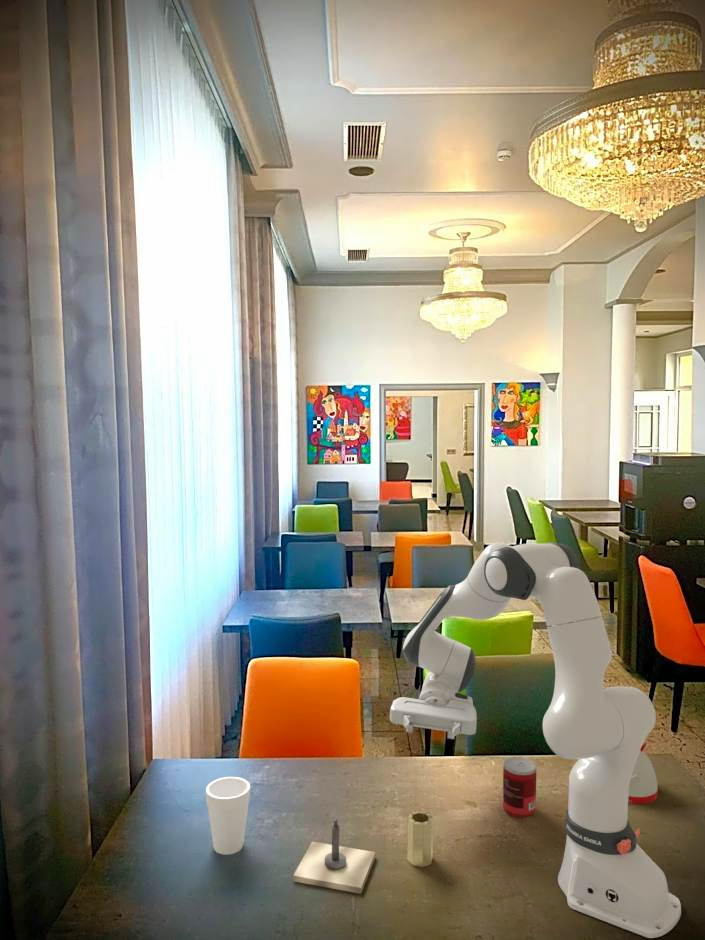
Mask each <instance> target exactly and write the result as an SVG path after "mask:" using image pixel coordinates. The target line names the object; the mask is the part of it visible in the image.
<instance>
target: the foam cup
mask: <svg viewBox="0 0 705 940" xmlns="http://www.w3.org/2000/svg"><path fill="white" fill-rule="evenodd" d="M205 789H206V790H205V792H206V793H205V801H206V802H205V803H206V804H207V811H208V818H209V826H210V831H211V832H210V834H211V837H212V838H211V840H212V846H213V850H214V852H216V853H217V854H220V855H225V856H226V855H228V856H229V855H234V854H237V853H238V852H240V851H241V850H242V848H243V847H244V842H245V837H246V836H245V835H246V827H247V819H248V812H249V811H248V810H249V804H250V803H249V802H250V799H251V784H250V782H249V780H247V779H246V778H243V777H238V776H225V777H224V776H223V777H220V778H216V779H215V780H213V781H211V782H209V784H208V785H207V786H206V788H205Z"/></svg>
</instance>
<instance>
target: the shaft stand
mask: <svg viewBox="0 0 705 940" xmlns="http://www.w3.org/2000/svg"><path fill="white" fill-rule="evenodd" d="M375 859H376V851H371V850H364V849H358V848H354V847H346V846H341V845H340V824H338V819H336V818H334V819H333V824H332V825H331V844H329V843H323V842H317V841H311V843H310V845H309V847H308V848H307V850H306V852H305V853H304V855H303V858H302V859H301V860H300V863H299V864H298V866H297V868H296V869H295V871H294V874H292V877H293V878H292V879H293V880H292V882H295V883H301V884H306V885H311V886H317V887H321V888H327V889H328V888H329V889H333V890H338V891H343V892H349V893H355V894H360V895H361V894H362V892H363V890H364V887H365V884H366V882H367V880H368V878H369V875H370V872H371V869H372V867H373V865H374V863H375Z"/></svg>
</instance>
